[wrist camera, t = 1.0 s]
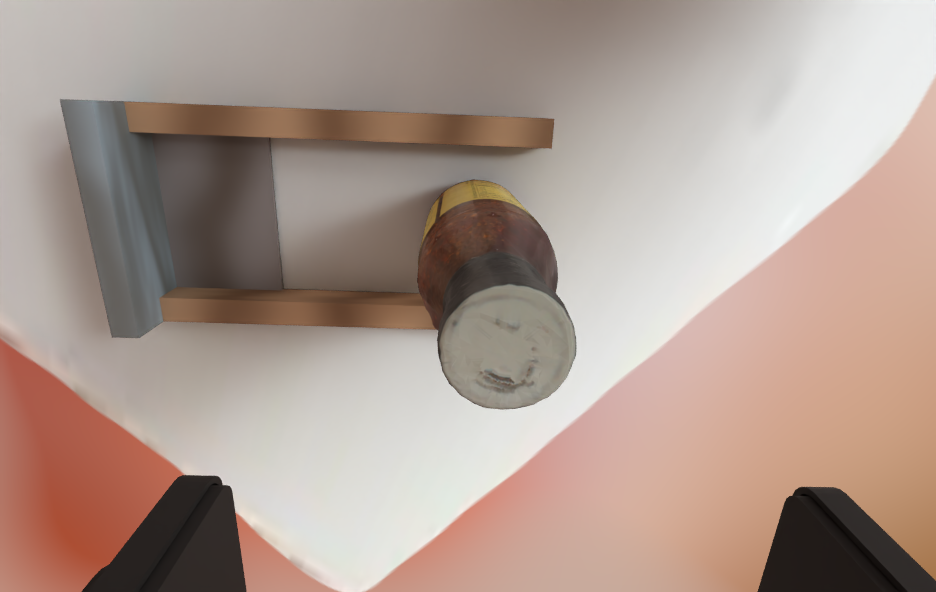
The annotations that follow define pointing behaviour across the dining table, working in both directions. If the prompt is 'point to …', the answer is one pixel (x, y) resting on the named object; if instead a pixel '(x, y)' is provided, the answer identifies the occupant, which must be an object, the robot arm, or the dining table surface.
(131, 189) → the wooden u-shaped frame
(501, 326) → the sauce bottle
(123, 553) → the robot arm
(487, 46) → the dining table surface
